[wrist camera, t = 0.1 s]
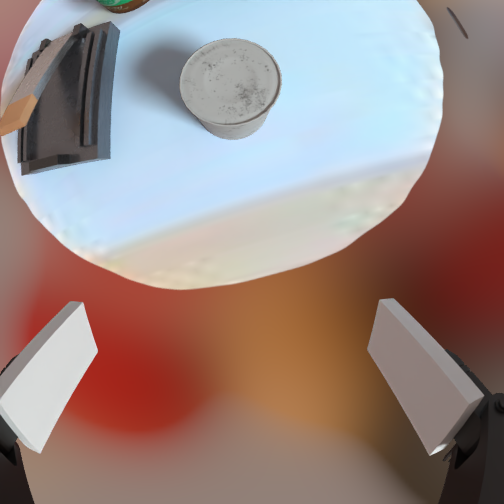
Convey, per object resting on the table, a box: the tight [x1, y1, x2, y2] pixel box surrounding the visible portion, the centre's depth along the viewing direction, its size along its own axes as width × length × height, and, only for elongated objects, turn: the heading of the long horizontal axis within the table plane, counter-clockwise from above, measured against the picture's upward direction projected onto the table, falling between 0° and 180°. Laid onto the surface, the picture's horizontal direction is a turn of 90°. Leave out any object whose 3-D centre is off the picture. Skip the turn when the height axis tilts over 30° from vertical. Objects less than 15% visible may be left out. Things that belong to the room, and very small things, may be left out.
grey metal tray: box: [18, 21, 120, 175], centre depth 27 cm, size 22×16×7 cm
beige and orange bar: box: [0, 32, 76, 136], centre depth 20 cm, size 18×5×2 cm, turn 0°
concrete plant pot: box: [179, 38, 282, 140], centre depth 27 cm, size 10×10×12 cm
